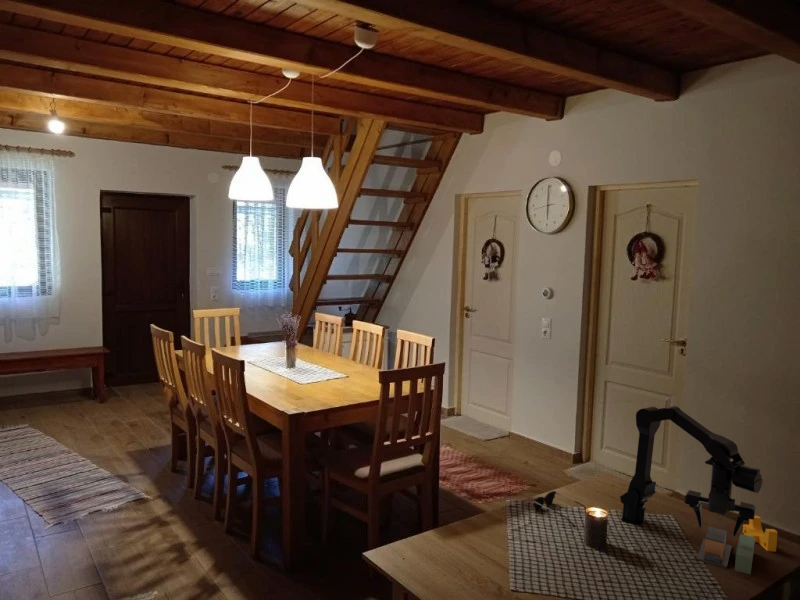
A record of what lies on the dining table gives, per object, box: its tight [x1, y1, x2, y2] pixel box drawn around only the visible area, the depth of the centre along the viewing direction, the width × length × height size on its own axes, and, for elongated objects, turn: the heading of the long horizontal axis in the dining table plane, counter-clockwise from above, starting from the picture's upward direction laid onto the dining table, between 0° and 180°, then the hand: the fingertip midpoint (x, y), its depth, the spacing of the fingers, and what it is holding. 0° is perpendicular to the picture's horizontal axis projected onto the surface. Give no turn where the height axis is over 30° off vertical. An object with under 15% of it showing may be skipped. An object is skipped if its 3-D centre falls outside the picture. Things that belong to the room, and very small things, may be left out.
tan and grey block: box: [704, 526, 728, 560], centre depth 188 cm, size 5×9×6 cm, turn 148°
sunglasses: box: [532, 490, 587, 528], centre depth 212 cm, size 14×16×5 cm
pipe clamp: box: [742, 515, 778, 552], centre depth 197 cm, size 12×4×6 cm, turn 176°
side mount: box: [696, 537, 733, 569], centre depth 188 cm, size 8×16×3 cm, turn 147°
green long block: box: [734, 533, 756, 576], centre depth 184 cm, size 4×16×5 cm, turn 147°
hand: (717, 531), depth 188 cm, fingers open, 9 cm apart
